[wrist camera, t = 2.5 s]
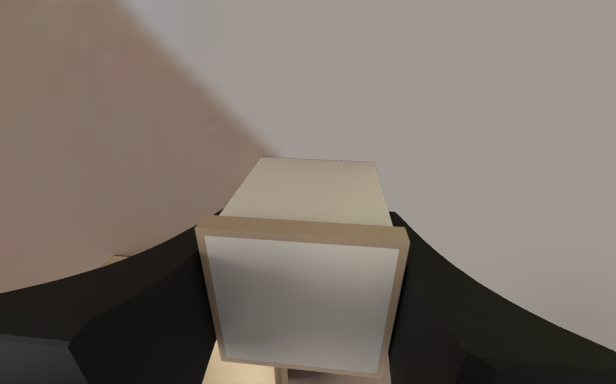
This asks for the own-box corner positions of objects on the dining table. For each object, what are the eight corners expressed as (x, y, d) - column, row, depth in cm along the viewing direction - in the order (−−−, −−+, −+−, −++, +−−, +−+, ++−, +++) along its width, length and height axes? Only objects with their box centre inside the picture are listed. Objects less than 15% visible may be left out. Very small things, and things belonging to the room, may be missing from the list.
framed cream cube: (380, 157, 11) (410, 242, 6) (367, 257, 13) (382, 378, 8) (256, 152, 12) (194, 227, 7) (263, 250, 14) (221, 360, 9)
